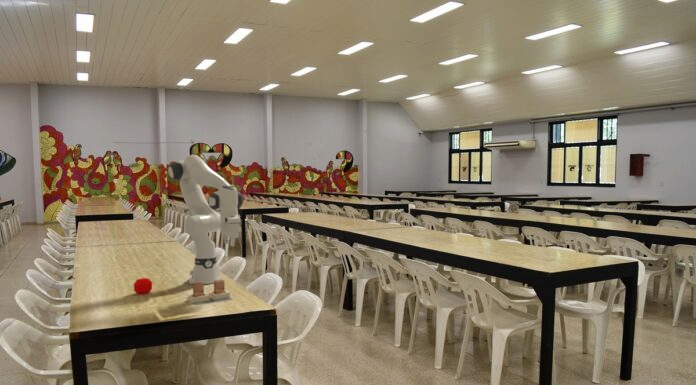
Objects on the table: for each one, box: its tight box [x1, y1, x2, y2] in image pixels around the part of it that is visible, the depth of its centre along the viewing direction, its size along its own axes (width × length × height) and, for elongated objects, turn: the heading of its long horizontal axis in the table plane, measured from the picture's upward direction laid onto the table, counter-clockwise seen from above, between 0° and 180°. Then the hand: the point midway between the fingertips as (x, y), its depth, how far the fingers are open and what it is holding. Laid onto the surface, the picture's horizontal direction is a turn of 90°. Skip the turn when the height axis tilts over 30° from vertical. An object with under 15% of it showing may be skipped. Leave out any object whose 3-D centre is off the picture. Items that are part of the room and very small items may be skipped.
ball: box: [133, 277, 153, 296], centre depth 256 cm, size 8×8×8 cm
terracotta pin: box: [213, 279, 226, 294], centre depth 239 cm, size 4×4×8 cm
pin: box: [192, 282, 205, 297], centre depth 234 cm, size 4×4×8 cm
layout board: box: [185, 289, 234, 306], centre depth 236 cm, size 18×18×4 cm
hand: (229, 244), depth 250 cm, fingers open, 8 cm apart
